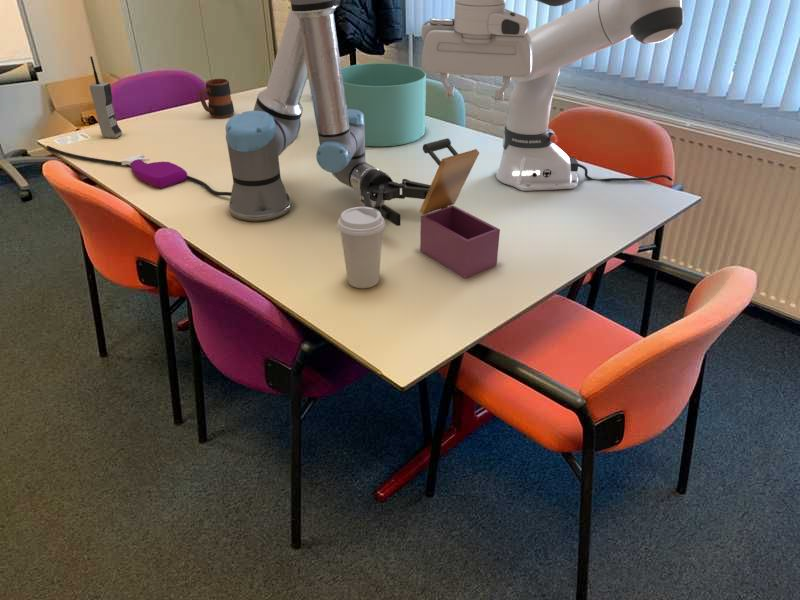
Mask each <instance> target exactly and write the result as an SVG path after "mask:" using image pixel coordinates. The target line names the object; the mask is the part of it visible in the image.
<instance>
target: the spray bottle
mask: <svg viewBox="0 0 800 600" xmlns="http://www.w3.org/2000/svg"><path fill="white" fill-rule="evenodd" d="M145 161H149V163H147V162H145ZM120 162H121V163H122V165H127V164H128V165H130V169H131V172H132V173H133V175H134V176H135V177H136V178H137V179H139V180H141V181H142V182H143V183H145V184H148V185H150V186H153V187H156V188H160V189H163V188H166V187H169V186H173V185H176V184H178V183H182V182H184V181H186V180H187V179H186V178H187V176H188V172H187V171H186V170H185V169H184V168H183V167H181V166H180V165H177V164H175V163H174V162H170V161H154V162H150V158H146V157H145V154H144V153H142V154H136V155H133V156H129V157H127V158H124V159H121V160H120ZM122 165H121V166H122Z"/></svg>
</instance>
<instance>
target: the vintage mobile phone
mask: <svg viewBox="0 0 800 600" xmlns="http://www.w3.org/2000/svg"><path fill="white" fill-rule="evenodd" d="M89 59H90V62H91V66H92V70H93V76H94V79H95V82H94V83H92V84H90V85H89V91H90V94H91V98H92V102H93V106H94V109H95V114H96V118H97V122H98V125H99V129H100V133H101V136H102V138H108V139H109V138H110V139H117V138H119V137H120V136H122V135H123V131H122V129H121V128H120V126H119V125H118V120H117V117H116V113H115V108H114V104H113V91H112V87H111V83H110V82H101V81H100V80H99V77H98V72H97V70H96V66H95V63H94V59H93V56H91V55H90V57H89Z"/></svg>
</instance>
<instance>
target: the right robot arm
mask: <svg viewBox="0 0 800 600" xmlns="http://www.w3.org/2000/svg"><path fill="white" fill-rule="evenodd" d="M506 1H507V0H454V15H453V17H454V18H436V17H433V18H430V19H428V20H427V21H425V22H423V24H422V26H421V40H422V42H423V47H422V54H421V69H422V70H423V71H424V72H425V73H430V74H439V80H440V82H441V84H442V86H443V88H444V89H445V91H444V97H445V98H450V99H453V98H454V97H455V86H454V85H453V86H452V85H451V84H450V82H449V80H448V78H449V77H450V74H451V75H466V76H467V75H468V76H484V77H502V83H503V85H502V86H501V88H496V89H495V93H494V95H495V97H494V101H497V102H504V99H505V91H506V90H507V88H509V86H510V84H511V82H512V81H514V85H513V88H512V91H511V93H510V95H509V98H508V103H507V104H508V106H507V117H506V125H505V127H504V131H503V135H502V136H503V137H502V148H503V149H502V151H503V152H502V154H501V159H500V162H499V167H498V169H497V172H496V175H495V177H496V180H498V181H499V182H501V183H502V184H504V185H507V186H511V187H515V189H517V190H519V191H522V192H529V191H530V192H531V191H550V190H551V191H552V190H572V189H576V188H577V186H578V184H579V178H578V175H577V172H578V169H579V168H581V169H583V170H584V177H585V178H586V179H587V180H588V181H598V182H599V181H600V182H611V181H612V182H613V181H617V182H629V181H633V182H634V181H648V180H653V179H658V178H664V179H667V180H669V181H671V182H673V181H674V179H673V178H672V177H671V176H669V175H667V174H656V175H652V176H645V177H609V178H599V179H598V178H594V177H593V178H592V177H590V176H589V175H588V173H589V172H588V168H587V167H586V166H585V165H583V164H580V163H579V162H578V159H577V158H576V157H569V155H568V154H567V153H566V152H565V151H564V150H563V149H561V148H560V147H559V146H558V145H557V143H558V141H559V138H558V135H557V134H555V131H554V130H553V129H552V127H551V128H549V122H550V114H551V108H552V101H553V96H554V92H555V90H556V86H557V82H558V79H559V76H560V71H561V69H562V68H564V67H566V66H568V65H570V64H573V63H576V62H577V61H579V60H581V59H584V58H586V57H588V56H591V55H593V54H595V53H598V52H600V51H603V50H605V49H608V48H610V47H612V46H615V45H618V44H620V43H622V42H624V41H625V40H628V39H630V38H632V37H634V39H635V40H636V41H638V42H639V43H641V44H645V45H646V44H657V43H661V42H664V41H666V40H668V39H670V38H671V37H672V36H674V35H676V34H677V33H678V32H679V31H680V29H681V28H682V27H683V25H684V8H683V7H682V0H593V1H590V2H588V3H587V4H584V5H582V6H580V7H578V8H576V9H574V10H571V11H569V12H568V13H565V14H563V15H561V16H559V17H557V18H555V19H552V20H550V21H548V22H545V23H544V24H542V25H540V26H537V27H535V28H533V29H531V30H529V27H530V20H529V18H528V17H526V16H525V15H523V14H520V13H517V12H515V11H512V10H509V9H507V8H506V3H507V2H506ZM535 1H536V2H539V3H542V4H544V5H547V6H550V7H560V6H561V7H562V6H564V5H566V4H568V3H570V2H572V1H573V0H535Z"/></svg>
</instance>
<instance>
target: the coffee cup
mask: <svg viewBox="0 0 800 600" xmlns="http://www.w3.org/2000/svg"><path fill="white" fill-rule="evenodd" d="M336 227H337V229H338V230H339V231H340V237H341V244H342V251H343V256H344V263H345V264H344V265H345V271H346V277H347V283H348V284H349V286H351V287H353V288H357V289H369V288H372V287H374V286H376V285H378V283H379V281H380V269H381V257H382V247H383V246H382V245H383V231H384V229H385V228H386V220H385V219H384V218H383V217H382V216H381V213H380V212H379V211H378V210H376V209H374V208H370V207H365V206H355V207H350V208H347V209H345V210H344V211H342V212H341V214H340V217H339V218H338V221H337V225H336Z"/></svg>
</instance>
